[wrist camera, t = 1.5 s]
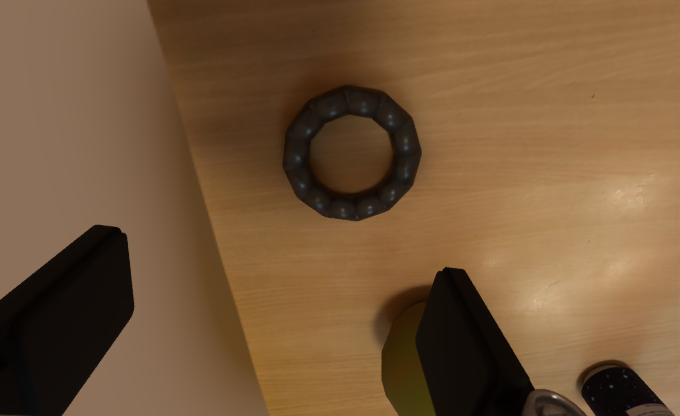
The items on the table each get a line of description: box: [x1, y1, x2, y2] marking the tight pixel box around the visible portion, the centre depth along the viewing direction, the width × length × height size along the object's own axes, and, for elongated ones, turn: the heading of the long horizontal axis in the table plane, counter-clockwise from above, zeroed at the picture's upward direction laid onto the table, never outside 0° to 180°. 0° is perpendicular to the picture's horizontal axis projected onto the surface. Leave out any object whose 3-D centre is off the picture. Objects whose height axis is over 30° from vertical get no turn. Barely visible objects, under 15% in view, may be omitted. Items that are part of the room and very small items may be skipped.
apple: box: [382, 301, 436, 416], centre depth 28 cm, size 10×10×11 cm
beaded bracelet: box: [282, 86, 422, 221], centre depth 25 cm, size 10×10×2 cm
